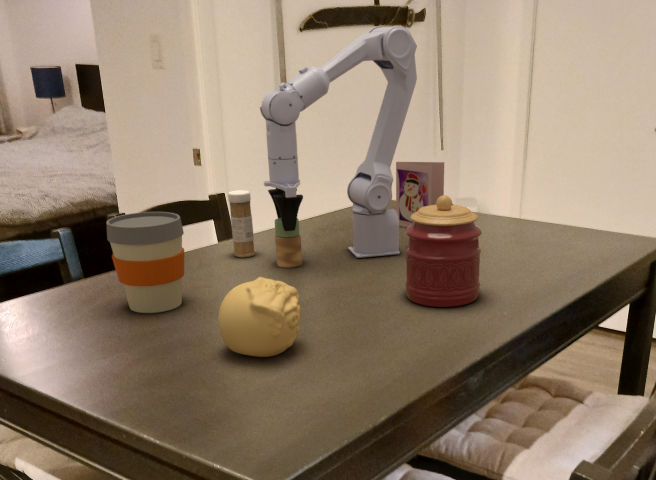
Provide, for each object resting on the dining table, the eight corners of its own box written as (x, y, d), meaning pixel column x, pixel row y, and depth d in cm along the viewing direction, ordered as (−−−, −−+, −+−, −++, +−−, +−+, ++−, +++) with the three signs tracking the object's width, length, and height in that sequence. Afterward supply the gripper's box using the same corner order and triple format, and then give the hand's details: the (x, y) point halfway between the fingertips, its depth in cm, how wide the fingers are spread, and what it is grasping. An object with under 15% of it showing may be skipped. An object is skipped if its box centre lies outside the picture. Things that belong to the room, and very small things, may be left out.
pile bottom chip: (299, 259, 159) (299, 245, 157) (304, 266, 154) (303, 251, 153) (275, 261, 157) (274, 247, 156) (279, 268, 153) (278, 253, 152)
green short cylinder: (297, 231, 156) (296, 216, 155) (301, 236, 152) (300, 221, 150) (273, 232, 155) (272, 218, 154) (277, 238, 151) (276, 223, 149)
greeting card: (393, 225, 185) (393, 162, 179) (414, 220, 190) (415, 158, 183) (428, 233, 177) (429, 167, 171) (449, 227, 182) (451, 163, 176)
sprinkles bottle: (248, 251, 166) (242, 188, 160) (259, 255, 162) (254, 191, 157) (229, 255, 163) (223, 191, 157) (240, 259, 160) (234, 194, 154)
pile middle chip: (293, 245, 158) (292, 230, 157) (306, 250, 154) (305, 235, 153) (271, 249, 155) (270, 234, 154) (284, 254, 151) (282, 239, 150)
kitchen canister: (449, 313, 126) (452, 206, 119) (390, 298, 134) (389, 197, 127) (493, 294, 135) (498, 193, 127) (435, 281, 143) (437, 185, 135)
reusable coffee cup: (103, 312, 131) (88, 225, 124) (147, 290, 141) (135, 209, 135) (164, 319, 126) (152, 230, 120) (205, 297, 137) (196, 213, 131)
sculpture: (291, 366, 107) (286, 293, 103) (210, 362, 109) (202, 290, 105) (311, 337, 118) (307, 269, 113) (236, 334, 120) (230, 267, 115)
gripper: (257, 153, 152) (262, 221, 158) (267, 164, 140) (273, 237, 145) (291, 151, 154) (295, 218, 160) (305, 161, 141) (309, 234, 147)
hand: (287, 227), depth 153 cm, fingers closed on green short cylinder, 5 cm apart
